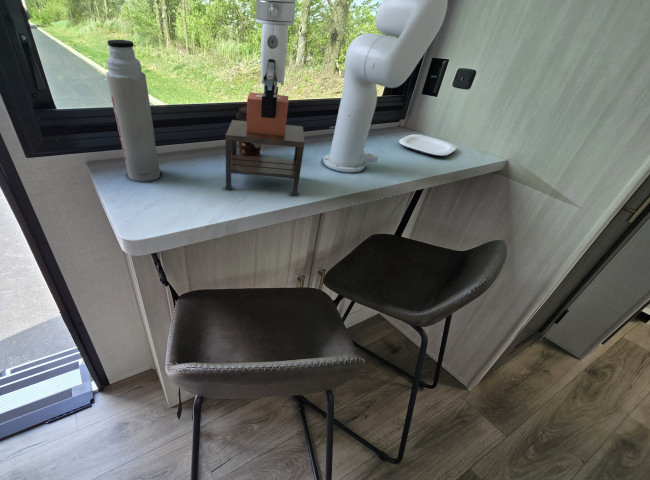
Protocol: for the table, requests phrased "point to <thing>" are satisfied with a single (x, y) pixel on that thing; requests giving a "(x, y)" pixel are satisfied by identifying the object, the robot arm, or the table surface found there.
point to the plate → (427, 145)
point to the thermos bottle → (132, 111)
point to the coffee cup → (246, 147)
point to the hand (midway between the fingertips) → (269, 111)
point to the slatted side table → (264, 164)
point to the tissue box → (266, 124)
